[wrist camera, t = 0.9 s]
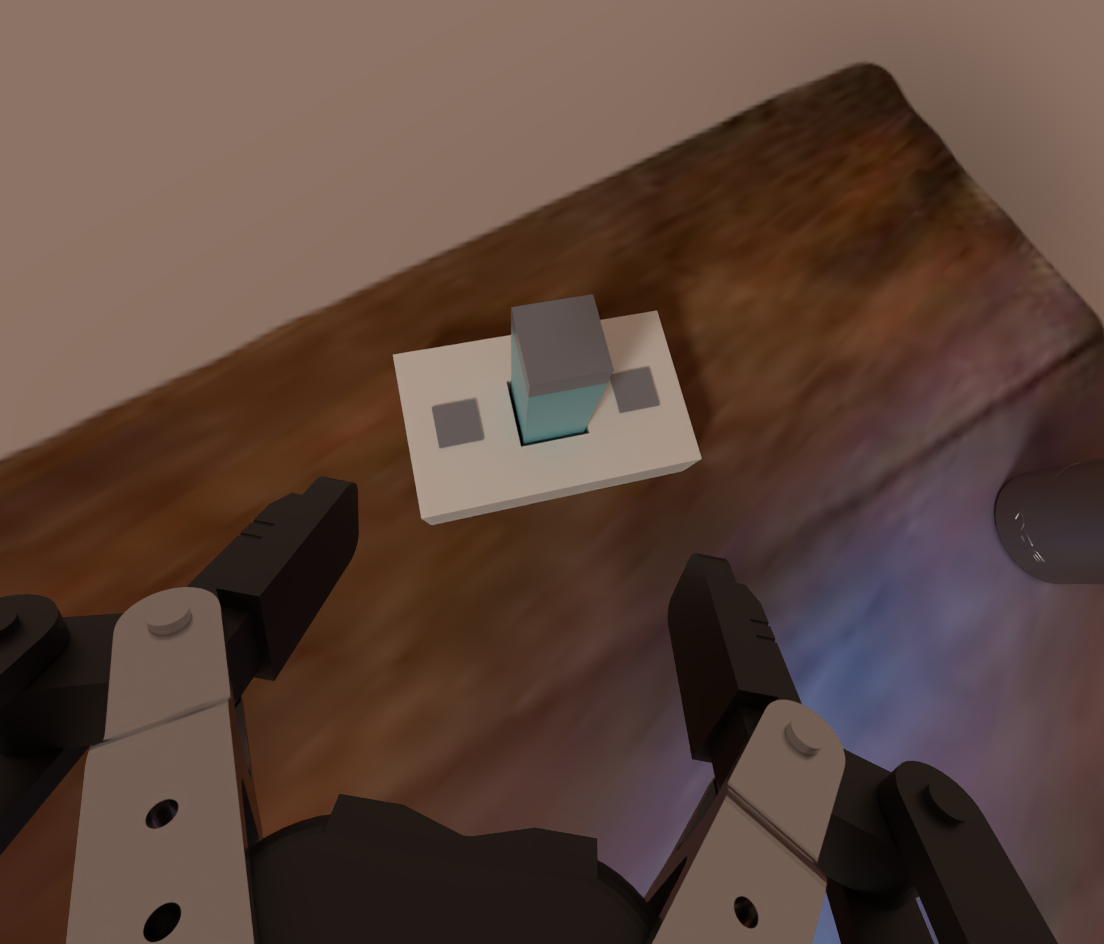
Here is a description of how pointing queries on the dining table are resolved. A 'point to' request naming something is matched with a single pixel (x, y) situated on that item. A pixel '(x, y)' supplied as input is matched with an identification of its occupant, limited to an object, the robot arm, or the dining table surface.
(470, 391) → the block
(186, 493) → the dining table surface
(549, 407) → the plug
